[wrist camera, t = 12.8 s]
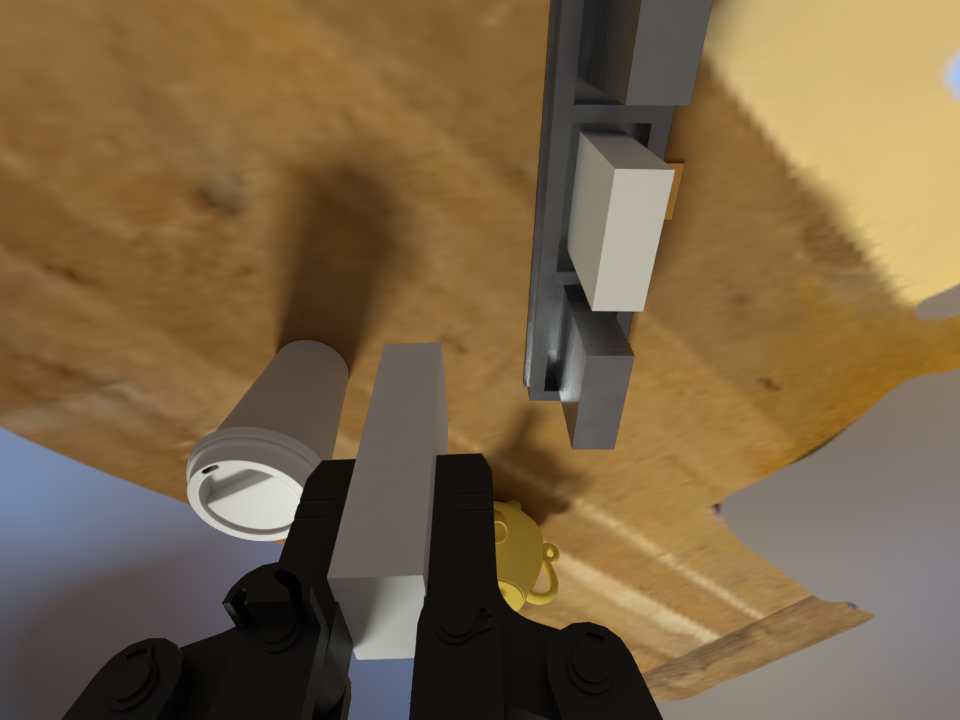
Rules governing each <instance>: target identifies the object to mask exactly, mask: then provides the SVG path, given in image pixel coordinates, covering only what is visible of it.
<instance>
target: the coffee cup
mask: <svg viewBox="0 0 960 720" xmlns="http://www.w3.org/2000/svg"><path fill="white" fill-rule="evenodd" d="M348 377H349V372H348V367H347V364H346V362H345V361H344V359H343V358H342V356H341V355H340V354H339V353H338V352H337V351H336V350H334V349H333V348H331V347H330V346H328V345H326V344H324V343H321V342H318V341H313V340H298V341H294V342H291V343H289V344H287V345H285V346H284V347H283V348H282V349H281V350H280V351H279V352H278V353H277V355H276V356H275V357H274V358H273V360H272V361H271V362H270V363H269V365H268V366H267V367H266V369H265V370H264V371H263V372H262V374H261V375H260V376H259V377H258V379H257V380H256V381H255V383H254V384H253V385H252V386H251V388H250V389H249V390H248V391H247V393H246V394H245V395H244V396H243V398H242V399H241V400H240V401H239V403H238V404H237V405H236V407H235V408H234V409H233V410H232V412H231V413H230V414H229V415H228V417H227V418H226V419H225V420H224V422H223V423H222V424H221V425H220V427H219V428H218V429H217V430H216V431H215V432H213V433H211V434H209V435H207V436H205V437H204V438H202V439H201V440H200V441H199V442H198V443H197V444H196V445H195V446H194V448H193V449H192V451H191V453H190V456H189V460H188V464H187V475H186V476H187V484H188V486H187V495H188V499H189V502H190V504H191V506H192V508H193V509H194V510H195V512H196V513H197V514H198V515H199V516H200V517H201V518H202V519H203V520H204V521H205V522H207V523H208V524H210V525H211V526H213V527H214V528H216V529H218V530H220V531H222V532H224V533H227V534H229V535H232V536H235V537H239V538H243V539H248V540H255V541H274V540H280V539H285V538H287V536H288V533H289V530H290V527H291V524H292V522H293V521H294V515H295V512H296V509H297V506H298V504H300V497H301V494H302V491H303V488H304V485H305V482H306V480H307V478H308V477H309V476H310V474H311V473H312V472H313V471H314V470H315V468H316V467H317V466H318V465H319V464H320V462H321V461H322V460H332V457H333V452H334V447H335V442H336V437H337V432H338V427H339V422H340V417H341V412H342V407H343V402H344V397H345V393H346V388H347V383H348Z"/></svg>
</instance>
